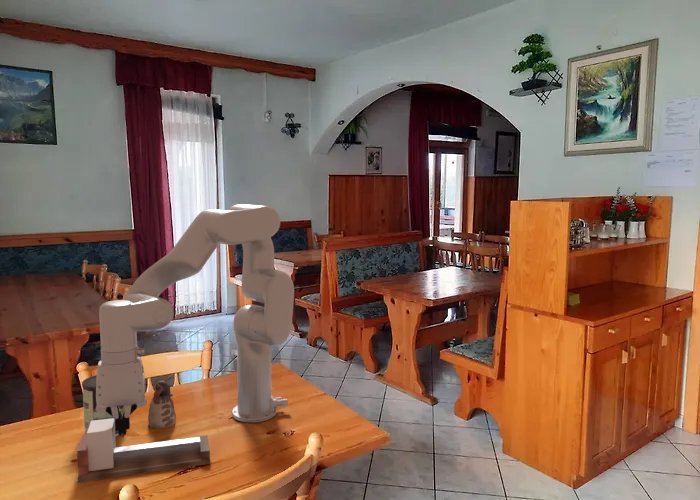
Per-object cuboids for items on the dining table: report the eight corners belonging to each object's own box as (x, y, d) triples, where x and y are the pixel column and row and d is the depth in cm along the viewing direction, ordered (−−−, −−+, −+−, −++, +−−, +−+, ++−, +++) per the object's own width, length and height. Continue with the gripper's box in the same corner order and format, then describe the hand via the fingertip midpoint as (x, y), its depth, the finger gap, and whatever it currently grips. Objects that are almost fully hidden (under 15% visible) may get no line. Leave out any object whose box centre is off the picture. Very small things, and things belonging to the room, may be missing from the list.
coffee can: (135, 424, 144) (133, 374, 142) (110, 442, 134) (108, 389, 132) (101, 420, 146) (99, 371, 144) (75, 438, 136) (72, 385, 134)
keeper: (116, 454, 125) (114, 418, 124) (113, 468, 119) (111, 430, 118) (92, 457, 124) (91, 420, 123) (88, 471, 118) (86, 433, 117)
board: (207, 445, 133) (207, 419, 132) (210, 463, 125) (209, 435, 124) (84, 462, 124) (83, 433, 124) (77, 482, 116) (76, 452, 115)
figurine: (181, 419, 148) (180, 378, 146) (165, 430, 141) (164, 387, 139) (159, 415, 150) (158, 374, 148) (142, 426, 143) (141, 383, 142)
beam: (199, 448, 129) (199, 436, 129) (200, 453, 127) (200, 441, 127) (91, 463, 122) (90, 450, 121) (89, 468, 120) (89, 455, 119)
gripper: (155, 347, 126) (157, 421, 128) (85, 353, 121) (89, 429, 123) (154, 357, 119) (157, 435, 121) (80, 364, 114) (84, 445, 116)
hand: (122, 432), depth 122 cm, fingers closed
